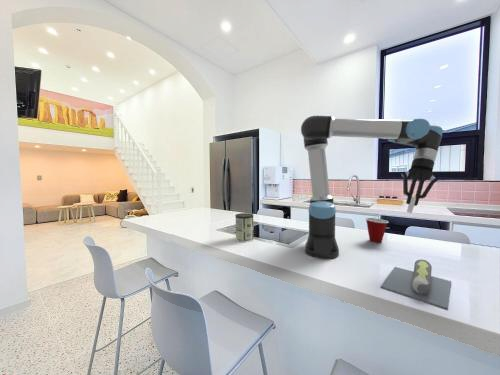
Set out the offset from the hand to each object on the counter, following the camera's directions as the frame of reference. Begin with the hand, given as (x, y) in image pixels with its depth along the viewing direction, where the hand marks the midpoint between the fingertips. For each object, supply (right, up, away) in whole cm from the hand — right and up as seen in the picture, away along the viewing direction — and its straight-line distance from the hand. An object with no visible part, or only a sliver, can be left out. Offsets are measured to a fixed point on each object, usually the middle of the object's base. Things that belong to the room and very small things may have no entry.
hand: (409, 211), depth 90 cm
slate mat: (-12, -22, -20) cm, 32 cm away
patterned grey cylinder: (-3, -19, -11) cm, 22 cm away
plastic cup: (+1, -19, +25) cm, 32 cm away
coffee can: (-71, -19, +32) cm, 80 cm away
